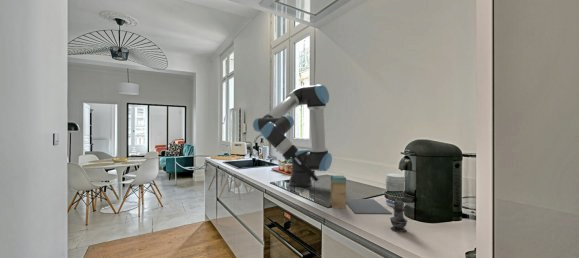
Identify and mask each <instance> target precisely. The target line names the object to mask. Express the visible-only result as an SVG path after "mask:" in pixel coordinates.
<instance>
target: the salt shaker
mask: <svg viewBox="0 0 579 258" xmlns="http://www.w3.org/2000/svg"><path fill="white" fill-rule="evenodd" d="M404 211H405V209H404V207H403V201H402V200H401V199H399V197H398V199H395V201H394V207H393V216H392V217H390V218H389V220H390V223H391V225H392V226H391V227H390V230H391V231H392V232H396V233H401V234H402V233H406V232H407V229H406V226H407V223H408V221H409V220H407V219H406V218H405V217H404Z"/></svg>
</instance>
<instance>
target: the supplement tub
mask: <svg viewBox="0 0 579 258" xmlns="http://www.w3.org/2000/svg"><path fill="white" fill-rule="evenodd" d="M404 175H405V174H403V173H402V174H401V173H386V175H385V176H386V177H385V193H386V192H387V191H404V182H405V176H404ZM385 203H386V204H387V206H389V207H393V208H394V202H393V201H390V200H387V199H386V198H385ZM403 208H405V207H404V203H403Z"/></svg>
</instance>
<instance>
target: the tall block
mask: <svg viewBox="0 0 579 258" xmlns="http://www.w3.org/2000/svg"><path fill="white" fill-rule="evenodd" d="M346 199H347V177H346V176H345V175H339V174H338V175H330V205H332V206H331V207H332V208H333V209H347V206H346V205H347V204H346Z"/></svg>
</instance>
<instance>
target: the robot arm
mask: <svg viewBox="0 0 579 258" xmlns="http://www.w3.org/2000/svg"><path fill="white" fill-rule="evenodd" d="M329 101H330V92H329V90H328V88H327V86H325V84H314V85H313V84H312V85H304V86H299V87H298V88H296V89H294V90H292V91H290V92H289V93H288V94H287V95H286V96H285V99H283V100H282V101H281V102H280V103H278V104H277V105H276V106H274V108H273V109H271V110H270V111H269V112H267V113H266V114H265V115H263V117H258V118H255V119H254V120H253V122H252V127H253V130H254V131H255V132H256V133H260V134H261V135H262V137H263V138H264V139H265V140H266V141H267V142H268V143H269V144H270V145H271V146H272V147H273V148H275V149H276V150H275V152H278V153H279V154H281V155H282V157H283V158H284V159H285V160H286V161H289V160H290V159H291V174H290V178H289V181H288V185H290V186H292V187H299V188H303V187H311V186H312V185H313V182H314V183H315V184H316V185H317V186H318V187H319V188H320V187H321V186H323V185H324V182H323V181H322V179H321V178H320V177H319V176H318V175H317V173H315V171H316V172H317V171H319V172H326V171H328V170H329V169H330V167H331V165H332V162H333V161H332V160H333V157H332V156H333V155H332V153H330V152H329V149H328V148H327V147H326V138H325V137H326V135H325V132H326V131H325V114H324V109H325V108H326V107H327V104H328V103H329ZM302 105H303V106H304V105H306V108H307V109H308V110H309V121H310V136H311V138H310V139H311V140H310V141H311V148H309V149H301V150H299V149H298V148H297V147H296V146H295V145H294V144H293V142H292V141H291V140H290V139H289V138H288V137H287V136H286V135H285V134H286V133H288V132H289V131H290V130H291V129H292V128H293V126H294V124H295V120H294V118H293V117H292V116H291V115H290V114H288V113H289V112H291V111H292V110H293V109H295V108H298V107H299V106H302ZM312 181H313V182H312Z"/></svg>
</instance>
